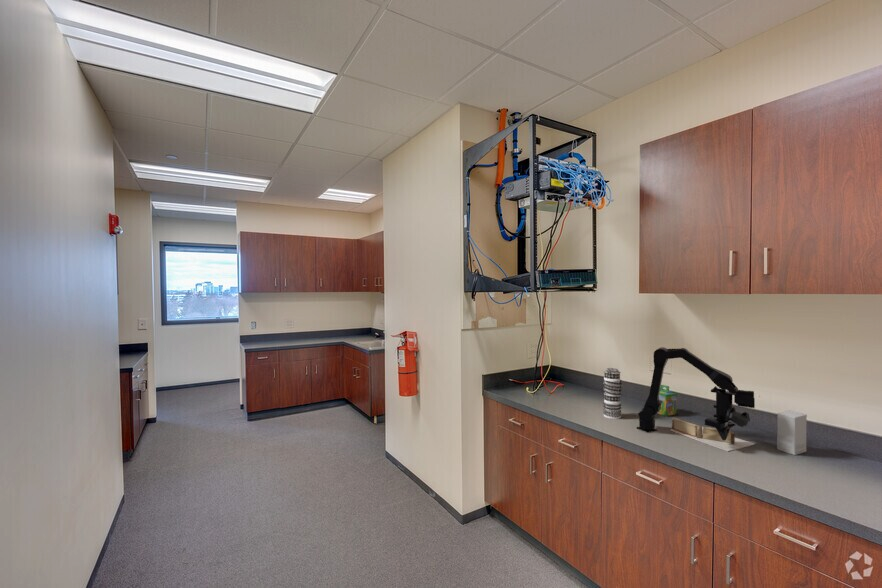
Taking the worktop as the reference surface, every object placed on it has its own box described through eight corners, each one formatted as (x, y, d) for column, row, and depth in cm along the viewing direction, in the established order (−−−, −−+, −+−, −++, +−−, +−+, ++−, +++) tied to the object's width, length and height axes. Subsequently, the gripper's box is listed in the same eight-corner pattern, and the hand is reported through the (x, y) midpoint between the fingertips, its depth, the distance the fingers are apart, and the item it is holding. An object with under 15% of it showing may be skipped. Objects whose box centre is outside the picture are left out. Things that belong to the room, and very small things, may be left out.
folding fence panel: (703, 438, 173) (703, 427, 173) (703, 437, 174) (703, 426, 174) (734, 443, 167) (734, 432, 167) (734, 442, 168) (734, 431, 168)
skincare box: (788, 446, 165) (789, 409, 165) (808, 452, 159) (808, 414, 158) (776, 449, 162) (776, 412, 162) (795, 455, 156) (795, 417, 155)
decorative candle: (625, 418, 202) (625, 370, 201) (609, 419, 200) (609, 371, 200) (615, 413, 211) (615, 366, 210) (599, 414, 209) (599, 367, 209)
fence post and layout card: (728, 451, 160) (728, 437, 160) (668, 429, 186) (668, 417, 185) (754, 444, 167) (754, 431, 167) (693, 424, 192) (693, 413, 192)
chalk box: (650, 412, 212) (650, 384, 212) (661, 409, 216) (661, 382, 216) (666, 417, 204) (666, 388, 203) (677, 414, 207) (677, 386, 207)
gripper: (733, 412, 155) (733, 451, 156) (757, 405, 164) (757, 442, 164) (703, 405, 165) (703, 441, 166) (727, 399, 174) (727, 433, 174)
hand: (723, 440), depth 167 cm, fingers closed
